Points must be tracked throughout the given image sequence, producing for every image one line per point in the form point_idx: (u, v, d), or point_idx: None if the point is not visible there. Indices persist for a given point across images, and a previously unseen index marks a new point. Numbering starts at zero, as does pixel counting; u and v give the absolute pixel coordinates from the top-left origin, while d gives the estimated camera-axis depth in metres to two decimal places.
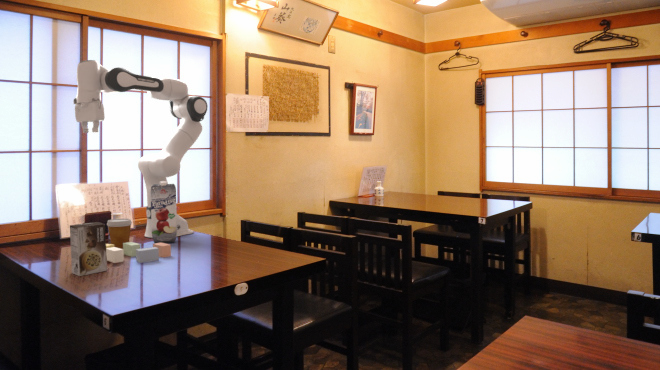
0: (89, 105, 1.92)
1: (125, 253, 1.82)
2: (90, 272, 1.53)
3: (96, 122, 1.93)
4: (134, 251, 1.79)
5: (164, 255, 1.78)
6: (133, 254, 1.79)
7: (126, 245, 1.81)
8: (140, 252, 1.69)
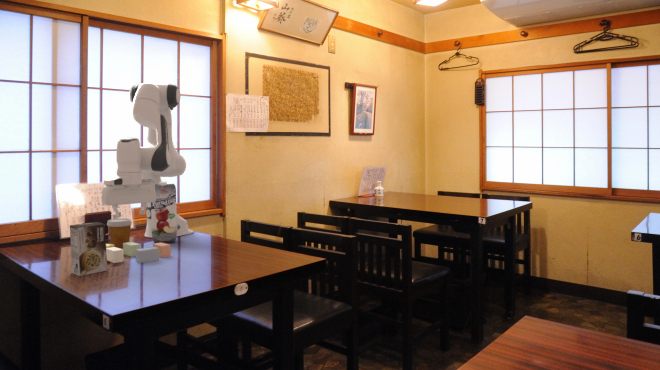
0: (142, 187, 1.83)
1: (125, 253, 1.82)
2: (90, 272, 1.53)
3: None
4: (134, 251, 1.79)
5: (164, 255, 1.78)
6: (133, 254, 1.79)
7: (126, 245, 1.81)
8: (140, 252, 1.69)
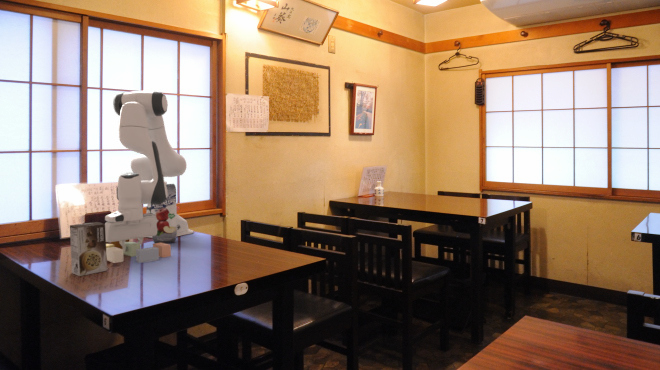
0: (143, 221, 1.84)
1: (125, 253, 1.82)
2: (90, 272, 1.53)
3: None
4: (134, 251, 1.79)
5: (164, 255, 1.78)
6: (133, 254, 1.79)
7: (126, 245, 1.81)
8: (140, 252, 1.69)
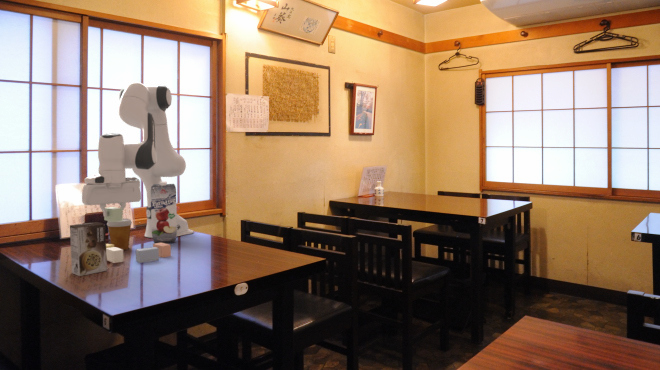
0: (126, 185, 1.72)
1: (106, 218, 1.71)
2: (90, 272, 1.53)
3: None
4: (115, 216, 1.68)
5: (164, 255, 1.78)
6: (114, 219, 1.68)
7: (107, 210, 1.70)
8: (140, 252, 1.69)
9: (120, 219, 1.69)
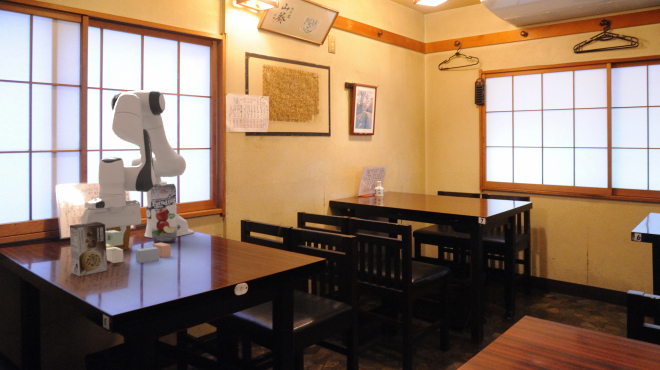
0: (126, 209, 1.73)
1: (107, 242, 1.71)
2: (90, 272, 1.53)
3: None
4: (116, 240, 1.69)
5: (164, 255, 1.78)
6: (115, 243, 1.69)
7: (108, 233, 1.71)
8: (140, 252, 1.69)
9: (120, 242, 1.70)
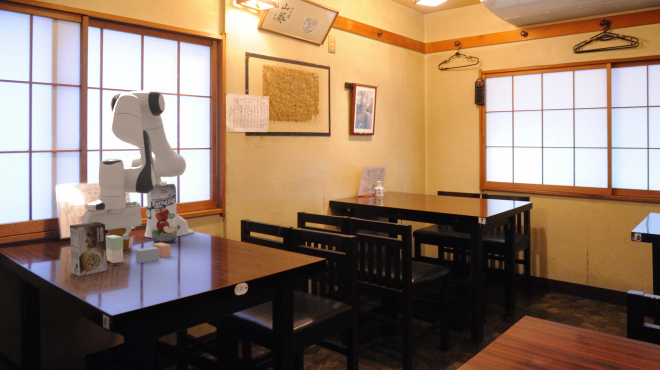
0: (127, 210, 1.73)
1: (107, 247, 1.72)
2: (90, 272, 1.53)
3: None
4: (116, 245, 1.69)
5: (164, 255, 1.78)
6: (115, 248, 1.69)
7: (108, 238, 1.71)
8: (140, 252, 1.69)
9: (120, 247, 1.70)
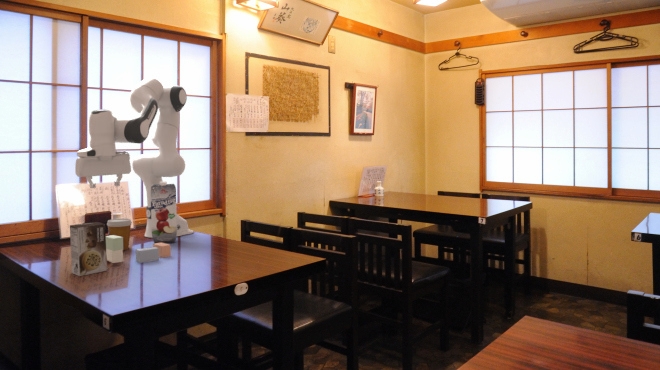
0: (116, 158, 1.84)
1: (107, 247, 1.72)
2: (90, 272, 1.53)
3: None
4: (116, 245, 1.69)
5: (164, 255, 1.78)
6: (115, 248, 1.69)
7: (108, 238, 1.71)
8: (140, 252, 1.69)
9: (120, 247, 1.70)
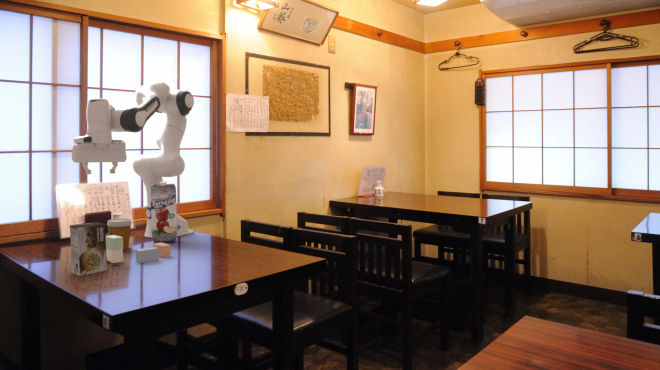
0: (112, 146, 1.89)
1: (107, 247, 1.72)
2: (90, 272, 1.53)
3: None
4: (116, 245, 1.69)
5: (164, 255, 1.78)
6: (115, 248, 1.69)
7: (108, 238, 1.71)
8: (140, 252, 1.69)
9: (120, 247, 1.70)
